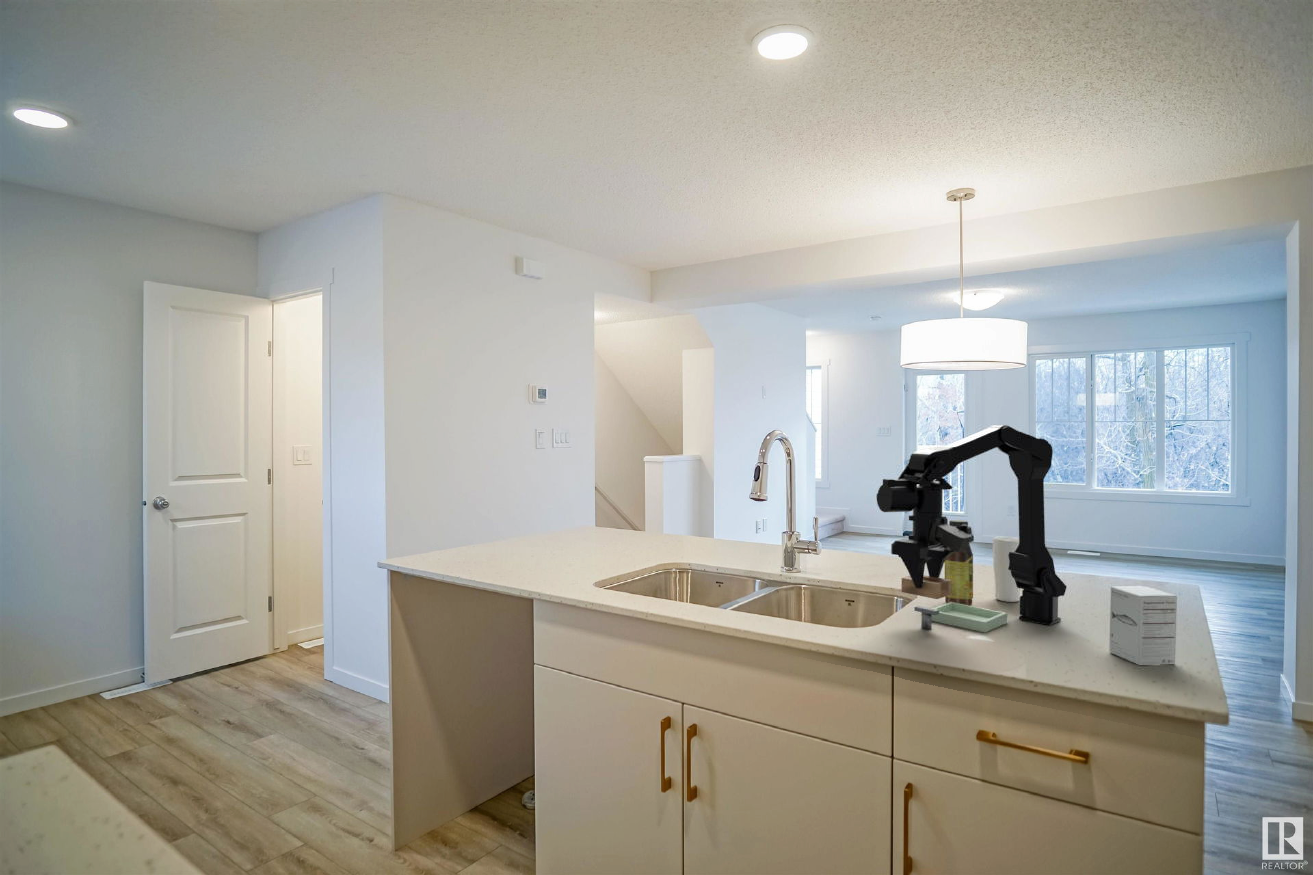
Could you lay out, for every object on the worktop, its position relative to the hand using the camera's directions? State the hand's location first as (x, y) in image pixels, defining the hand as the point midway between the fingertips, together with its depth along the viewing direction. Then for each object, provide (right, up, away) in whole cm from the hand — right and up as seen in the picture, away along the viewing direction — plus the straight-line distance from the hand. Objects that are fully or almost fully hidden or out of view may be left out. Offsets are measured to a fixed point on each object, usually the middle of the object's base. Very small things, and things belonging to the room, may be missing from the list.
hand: (926, 585), depth 145 cm
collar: (0, -2, 0) cm, 2 cm away
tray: (+11, -9, +6) cm, 15 cm away
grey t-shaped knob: (0, -9, 0) cm, 9 cm away
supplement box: (+32, -10, -18) cm, 38 cm away
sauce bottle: (+16, -9, +20) cm, 27 cm away
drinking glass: (+29, -9, +25) cm, 39 cm away
